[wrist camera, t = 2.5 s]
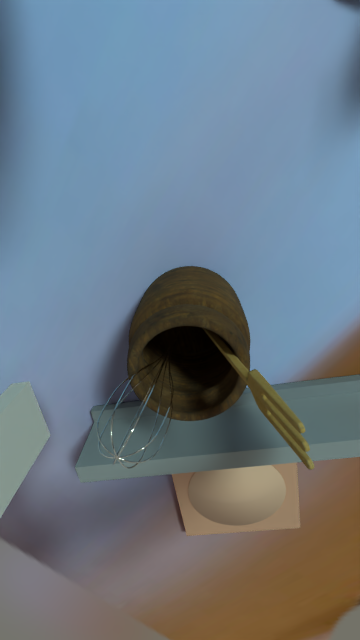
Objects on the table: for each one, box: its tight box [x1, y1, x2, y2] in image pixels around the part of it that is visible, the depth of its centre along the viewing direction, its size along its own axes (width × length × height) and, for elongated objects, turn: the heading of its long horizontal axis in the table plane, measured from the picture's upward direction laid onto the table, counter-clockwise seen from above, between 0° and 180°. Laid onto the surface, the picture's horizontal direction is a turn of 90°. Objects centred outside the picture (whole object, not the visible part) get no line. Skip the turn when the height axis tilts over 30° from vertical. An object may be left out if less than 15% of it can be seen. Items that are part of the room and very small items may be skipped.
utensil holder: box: [97, 266, 314, 469], centre depth 14 cm, size 6×6×12 cm
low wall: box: [75, 375, 360, 483], centre depth 20 cm, size 3×18×4 cm, turn 100°
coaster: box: [172, 463, 300, 536], centre depth 24 cm, size 9×9×1 cm
